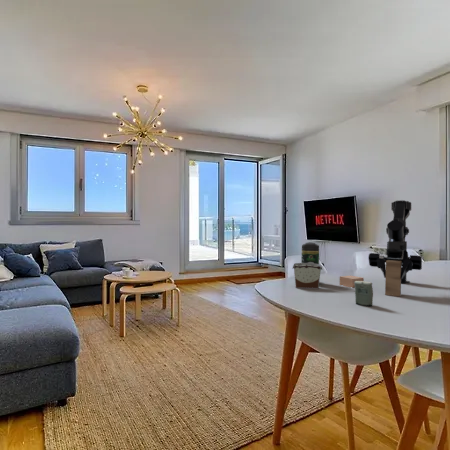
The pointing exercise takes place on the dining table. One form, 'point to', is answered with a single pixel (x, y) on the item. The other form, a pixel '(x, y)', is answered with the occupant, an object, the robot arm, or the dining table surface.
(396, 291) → the walnut block
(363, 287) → the grey-green rounded block
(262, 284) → the dining table surface
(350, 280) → the terracotta block
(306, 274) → the food container
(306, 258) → the coffee jar
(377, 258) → the robot arm
